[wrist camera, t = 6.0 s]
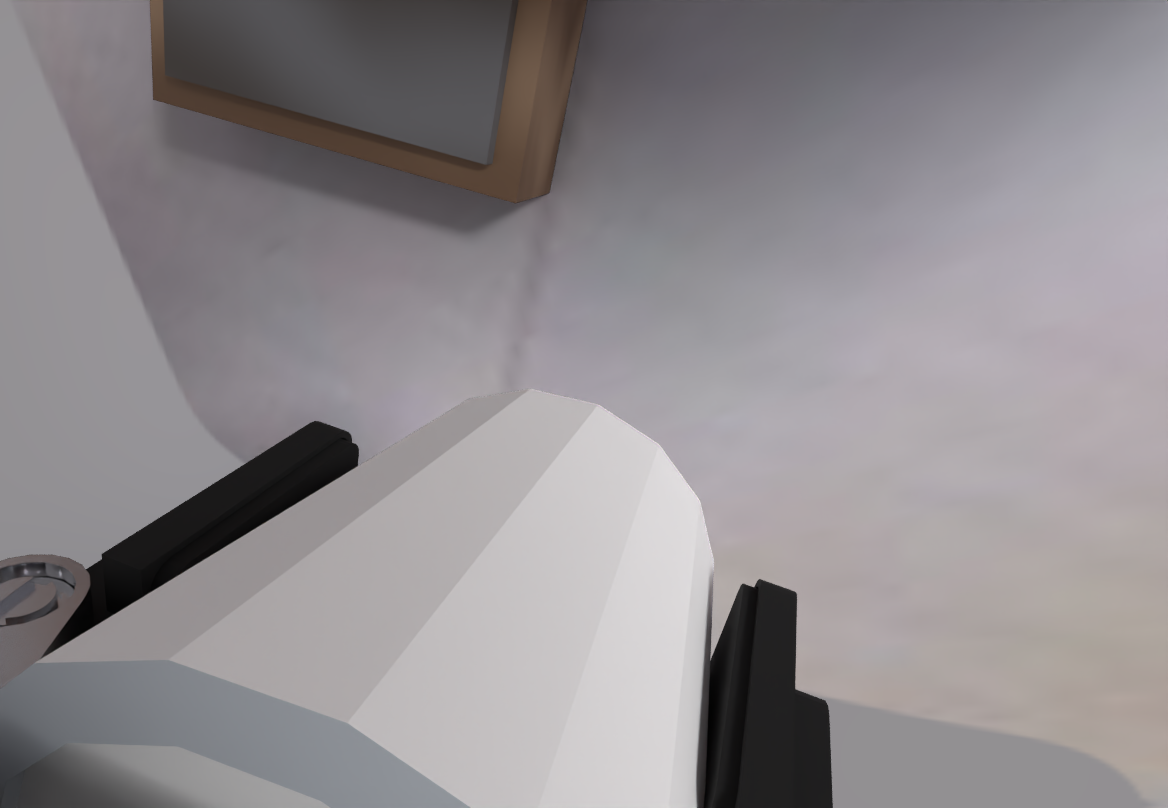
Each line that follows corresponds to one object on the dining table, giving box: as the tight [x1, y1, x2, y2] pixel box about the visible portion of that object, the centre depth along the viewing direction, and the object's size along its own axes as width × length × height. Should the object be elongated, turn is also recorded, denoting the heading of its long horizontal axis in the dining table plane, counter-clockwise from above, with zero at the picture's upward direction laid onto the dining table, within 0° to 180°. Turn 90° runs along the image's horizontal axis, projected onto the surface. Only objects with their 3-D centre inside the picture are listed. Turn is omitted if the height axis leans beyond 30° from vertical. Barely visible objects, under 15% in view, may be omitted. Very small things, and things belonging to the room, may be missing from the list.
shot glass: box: [0, 389, 714, 808], centre depth 9 cm, size 7×7×7 cm
